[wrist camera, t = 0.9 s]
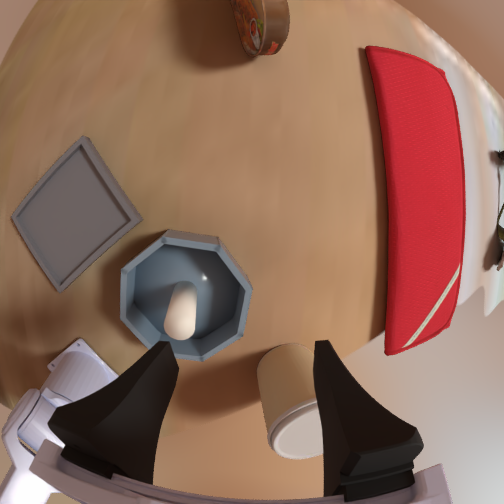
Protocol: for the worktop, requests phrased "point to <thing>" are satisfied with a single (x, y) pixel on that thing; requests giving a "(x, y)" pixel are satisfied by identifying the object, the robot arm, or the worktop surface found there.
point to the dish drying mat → (420, 195)
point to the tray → (74, 214)
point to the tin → (262, 25)
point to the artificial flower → (501, 231)
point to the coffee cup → (290, 402)
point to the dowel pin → (181, 311)
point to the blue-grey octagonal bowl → (208, 293)
